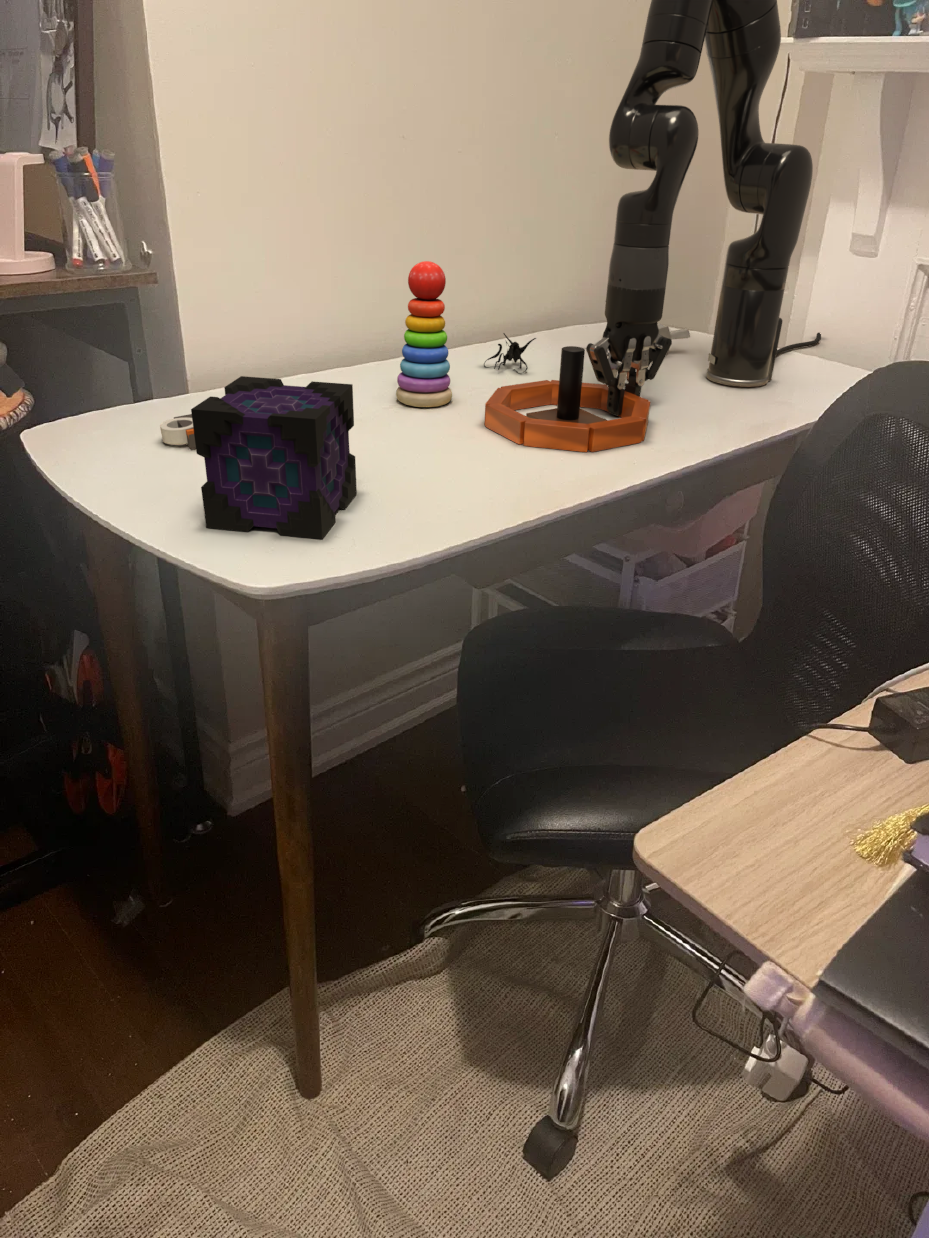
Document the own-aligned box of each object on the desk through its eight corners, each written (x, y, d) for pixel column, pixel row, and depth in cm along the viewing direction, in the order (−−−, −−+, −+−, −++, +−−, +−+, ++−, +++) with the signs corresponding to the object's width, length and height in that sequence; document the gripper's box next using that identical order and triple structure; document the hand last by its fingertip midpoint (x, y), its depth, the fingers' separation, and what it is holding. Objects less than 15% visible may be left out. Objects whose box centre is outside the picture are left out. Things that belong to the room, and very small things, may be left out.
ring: (581, 394, 134) (583, 374, 132) (679, 435, 118) (682, 413, 117) (460, 413, 124) (460, 392, 123) (549, 460, 109) (551, 436, 107)
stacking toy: (445, 411, 125) (447, 268, 116) (389, 406, 126) (387, 264, 117) (457, 396, 132) (460, 259, 122) (404, 391, 133) (403, 256, 124)
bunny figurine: (600, 333, 152) (651, 310, 161) (600, 362, 155) (650, 339, 164) (648, 343, 146) (698, 319, 155) (646, 373, 149) (695, 349, 158)
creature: (518, 383, 142) (542, 362, 147) (516, 351, 139) (541, 331, 144) (476, 375, 146) (501, 355, 151) (473, 344, 142) (498, 324, 147)
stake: (572, 412, 126) (579, 339, 121) (609, 428, 120) (617, 352, 115) (525, 420, 122) (530, 345, 117) (560, 437, 116) (567, 359, 112)
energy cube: (322, 539, 88) (315, 419, 82) (206, 528, 89) (190, 409, 83) (356, 494, 98) (352, 384, 92) (251, 484, 100) (241, 376, 94)
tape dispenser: (153, 417, 112) (269, 397, 118) (158, 440, 113) (272, 419, 119) (167, 433, 107) (287, 411, 113) (172, 457, 108) (290, 433, 114)
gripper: (613, 290, 111) (600, 427, 120) (696, 282, 117) (677, 413, 126) (576, 280, 116) (566, 412, 125) (657, 273, 123) (642, 399, 131)
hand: (622, 412), depth 125 cm, fingers closed on ring, 2 cm apart
